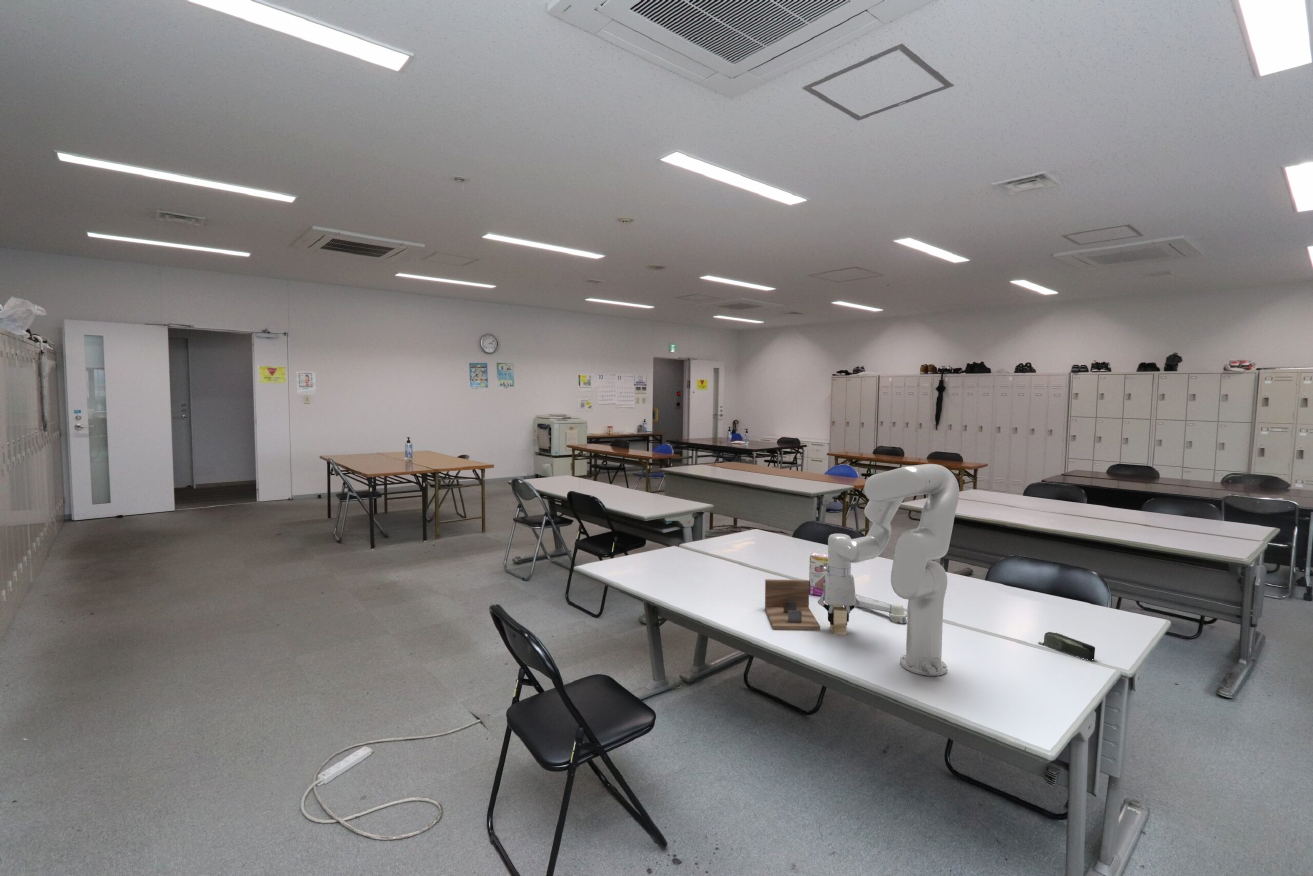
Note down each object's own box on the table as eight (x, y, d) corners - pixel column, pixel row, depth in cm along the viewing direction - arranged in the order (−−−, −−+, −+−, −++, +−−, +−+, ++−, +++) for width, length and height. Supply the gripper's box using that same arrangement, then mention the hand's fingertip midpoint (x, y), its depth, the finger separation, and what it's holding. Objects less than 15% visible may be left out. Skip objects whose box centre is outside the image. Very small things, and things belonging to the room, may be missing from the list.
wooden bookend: (820, 630, 199) (820, 597, 198) (773, 629, 200) (773, 597, 199) (807, 610, 218) (808, 579, 218) (764, 609, 219) (765, 579, 218)
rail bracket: (846, 634, 196) (846, 611, 195) (834, 634, 196) (834, 611, 195) (841, 627, 202) (841, 605, 201) (829, 627, 202) (830, 604, 201)
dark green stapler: (1096, 645, 176) (1042, 627, 189) (1092, 647, 174) (1038, 629, 187) (1095, 661, 176) (1041, 642, 189) (1090, 663, 175) (1036, 644, 188)
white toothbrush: (852, 592, 227) (909, 602, 206) (853, 609, 227) (911, 621, 206) (843, 594, 224) (899, 605, 203) (844, 612, 224) (901, 624, 203)
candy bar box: (808, 595, 235) (809, 555, 234) (811, 591, 239) (812, 552, 238) (836, 599, 229) (837, 558, 228) (839, 596, 234) (840, 556, 233)
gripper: (816, 573, 194) (815, 627, 195) (867, 574, 193) (866, 628, 194) (811, 567, 201) (811, 619, 203) (860, 567, 201) (859, 619, 202)
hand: (838, 622), depth 198 cm, fingers closed on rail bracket, 4 cm apart
